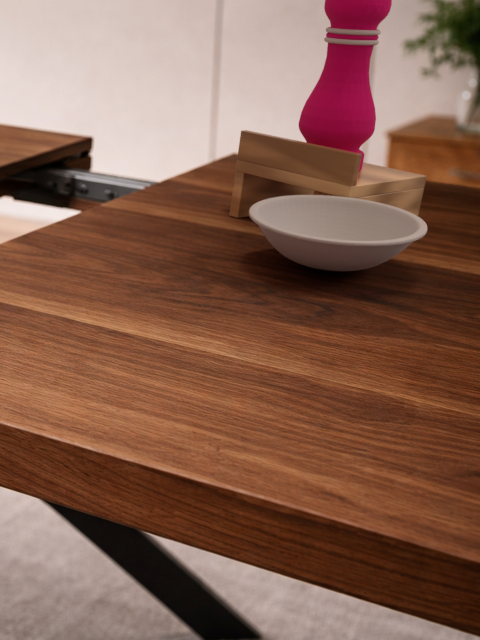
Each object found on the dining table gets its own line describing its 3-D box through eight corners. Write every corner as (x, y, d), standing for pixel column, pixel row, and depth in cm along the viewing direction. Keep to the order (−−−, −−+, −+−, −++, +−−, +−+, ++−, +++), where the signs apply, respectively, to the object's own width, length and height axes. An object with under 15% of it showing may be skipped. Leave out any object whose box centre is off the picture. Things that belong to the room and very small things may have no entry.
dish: (405, 316, 73) (418, 254, 71) (219, 283, 79) (227, 225, 78) (423, 261, 88) (434, 208, 86) (265, 237, 94) (272, 187, 92)
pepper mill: (317, 175, 93) (355, -45, 86) (278, 160, 100) (310, -46, 92) (381, 174, 95) (424, -43, 87) (339, 159, 101) (375, -43, 94)
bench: (303, 204, 108) (316, 124, 105) (414, 234, 97) (433, 145, 94) (229, 215, 102) (240, 130, 99) (339, 248, 91) (356, 154, 88)
